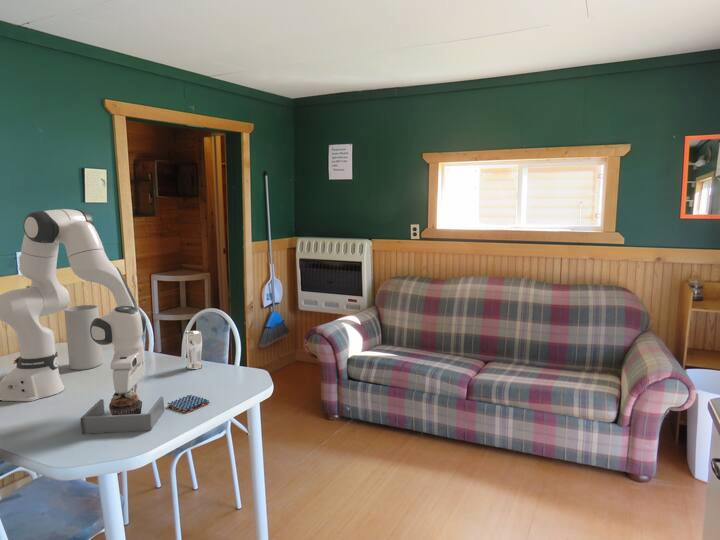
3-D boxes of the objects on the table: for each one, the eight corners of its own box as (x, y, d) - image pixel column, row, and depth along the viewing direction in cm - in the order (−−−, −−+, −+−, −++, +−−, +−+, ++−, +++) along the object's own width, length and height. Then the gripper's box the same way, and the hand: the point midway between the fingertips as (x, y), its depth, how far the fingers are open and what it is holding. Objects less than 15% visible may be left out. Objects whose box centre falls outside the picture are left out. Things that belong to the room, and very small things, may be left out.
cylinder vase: (108, 364, 228) (104, 306, 224) (80, 372, 217) (74, 312, 214) (91, 359, 235) (87, 304, 231) (63, 367, 224) (58, 309, 221)
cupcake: (143, 422, 167) (141, 391, 166) (109, 427, 163) (107, 396, 162) (143, 411, 176) (140, 381, 175) (110, 416, 172) (108, 386, 171)
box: (81, 434, 159) (80, 418, 158) (101, 414, 174) (100, 399, 173) (150, 430, 161) (149, 414, 160) (164, 411, 176) (163, 396, 175)
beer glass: (198, 370, 217) (196, 334, 215) (182, 369, 218) (180, 334, 216) (206, 365, 224) (204, 330, 222) (191, 364, 225) (189, 330, 223)
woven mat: (186, 415, 173) (186, 409, 173) (165, 409, 179) (165, 403, 178) (211, 404, 182) (211, 399, 181) (190, 398, 187) (190, 393, 187)
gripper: (130, 347, 183) (133, 386, 185) (108, 366, 163) (111, 409, 164) (149, 346, 183) (152, 385, 185) (129, 365, 163) (132, 408, 165)
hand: (132, 396), depth 175 cm, fingers closed
